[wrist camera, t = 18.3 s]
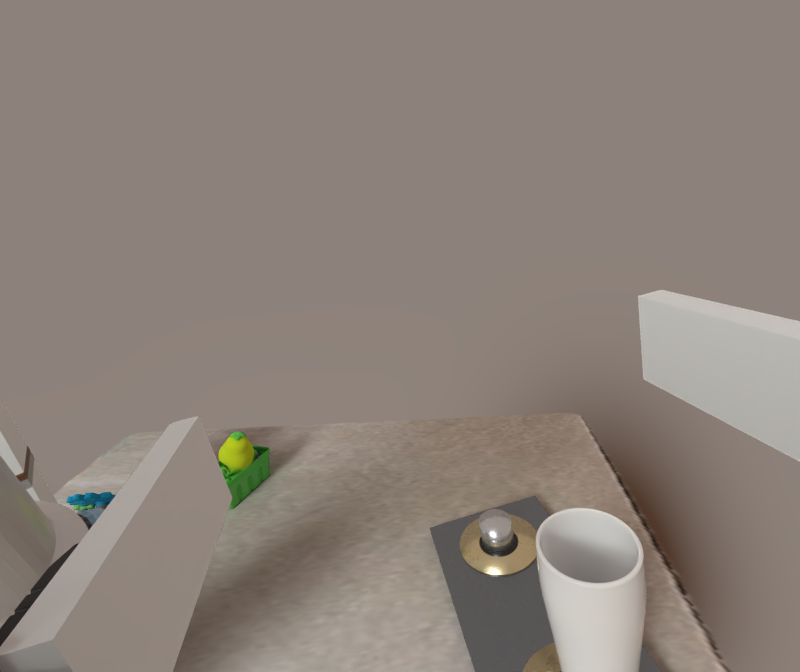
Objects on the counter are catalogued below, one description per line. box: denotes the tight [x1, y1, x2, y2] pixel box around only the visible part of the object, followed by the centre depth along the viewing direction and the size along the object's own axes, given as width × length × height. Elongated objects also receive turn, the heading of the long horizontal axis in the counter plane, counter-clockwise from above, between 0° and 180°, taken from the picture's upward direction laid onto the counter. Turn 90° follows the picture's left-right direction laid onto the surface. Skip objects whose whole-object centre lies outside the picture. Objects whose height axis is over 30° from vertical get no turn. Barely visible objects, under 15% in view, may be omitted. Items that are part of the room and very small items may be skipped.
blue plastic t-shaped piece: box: [67, 492, 116, 513], centre depth 74 cm, size 11×6×10 cm
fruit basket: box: [218, 431, 270, 509], centre depth 73 cm, size 11×9×11 cm
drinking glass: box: [536, 508, 646, 672], centre depth 32 cm, size 7×7×15 cm
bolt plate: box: [430, 496, 662, 672], centre depth 42 cm, size 28×14×4 cm, turn 10°
